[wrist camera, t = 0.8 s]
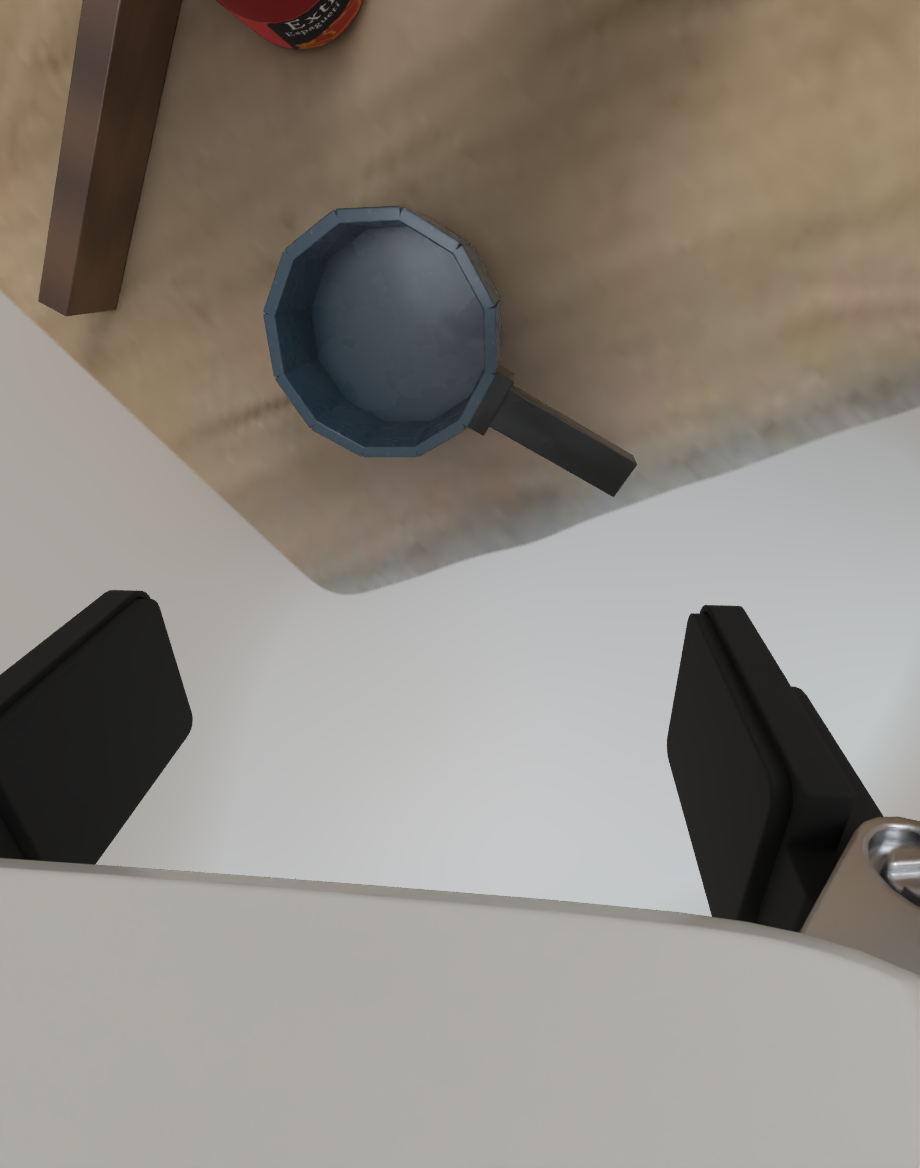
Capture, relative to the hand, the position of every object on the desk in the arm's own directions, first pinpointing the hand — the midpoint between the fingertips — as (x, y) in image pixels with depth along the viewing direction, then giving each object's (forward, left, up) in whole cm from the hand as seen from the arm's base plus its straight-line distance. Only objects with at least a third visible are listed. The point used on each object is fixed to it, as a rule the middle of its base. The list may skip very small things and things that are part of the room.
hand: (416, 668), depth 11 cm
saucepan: (0, -2, -29) cm, 29 cm away
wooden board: (-4, -23, -29) cm, 37 cm away
